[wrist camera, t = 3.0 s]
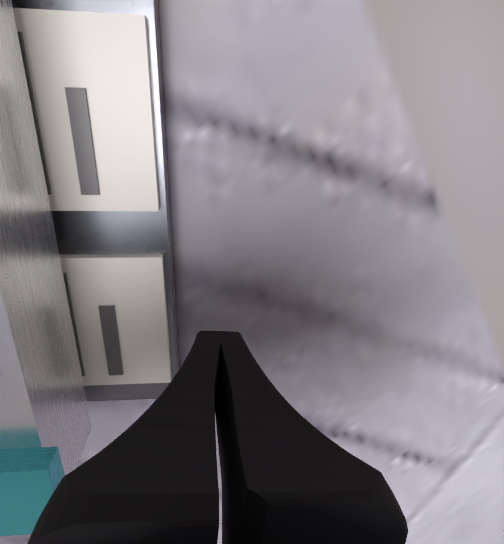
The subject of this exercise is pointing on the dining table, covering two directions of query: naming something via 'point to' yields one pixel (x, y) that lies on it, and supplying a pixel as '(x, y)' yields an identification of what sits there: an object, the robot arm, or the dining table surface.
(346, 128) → the dining table surface
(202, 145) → the dining table surface
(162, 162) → the tray
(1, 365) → the bar
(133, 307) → the label
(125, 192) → the label
